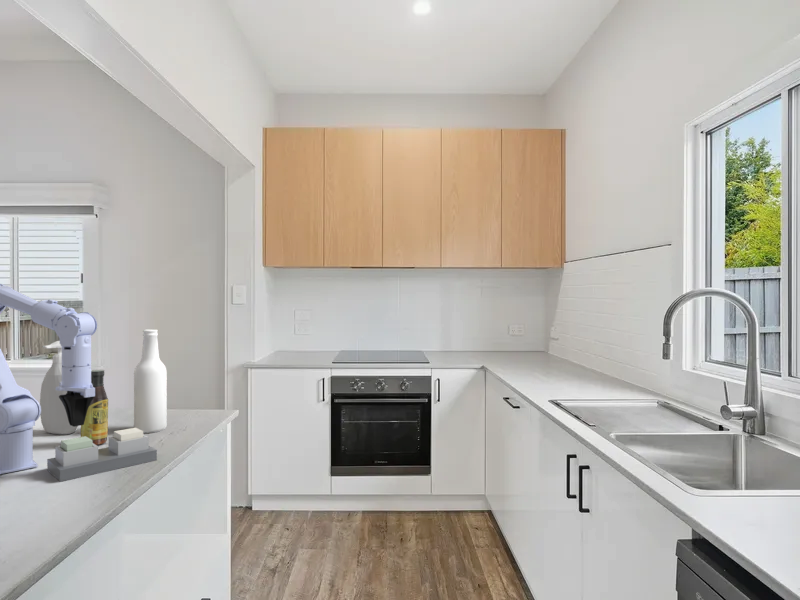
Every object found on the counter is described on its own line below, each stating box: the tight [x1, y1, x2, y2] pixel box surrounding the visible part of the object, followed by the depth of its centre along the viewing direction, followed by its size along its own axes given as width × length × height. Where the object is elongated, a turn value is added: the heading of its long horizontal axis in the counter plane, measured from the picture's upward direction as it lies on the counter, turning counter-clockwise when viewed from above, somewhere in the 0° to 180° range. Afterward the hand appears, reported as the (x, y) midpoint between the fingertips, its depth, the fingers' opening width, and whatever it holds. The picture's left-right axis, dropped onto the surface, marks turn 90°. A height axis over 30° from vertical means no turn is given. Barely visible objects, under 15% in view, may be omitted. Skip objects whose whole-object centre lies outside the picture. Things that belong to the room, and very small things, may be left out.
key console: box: [46, 433, 158, 483], centre depth 120 cm, size 11×20×6 cm, turn 137°
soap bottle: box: [39, 340, 79, 435], centre depth 148 cm, size 14×8×27 cm, turn 70°
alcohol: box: [133, 328, 168, 434], centre depth 151 cm, size 9×9×30 cm
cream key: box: [113, 427, 144, 442], centre depth 124 cm, size 5×5×2 cm
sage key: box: [60, 436, 93, 452], centre depth 116 cm, size 5×5×2 cm
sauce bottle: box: [80, 369, 109, 446], centre depth 137 cm, size 7×6×20 cm
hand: (76, 425), depth 116 cm, fingers closed
